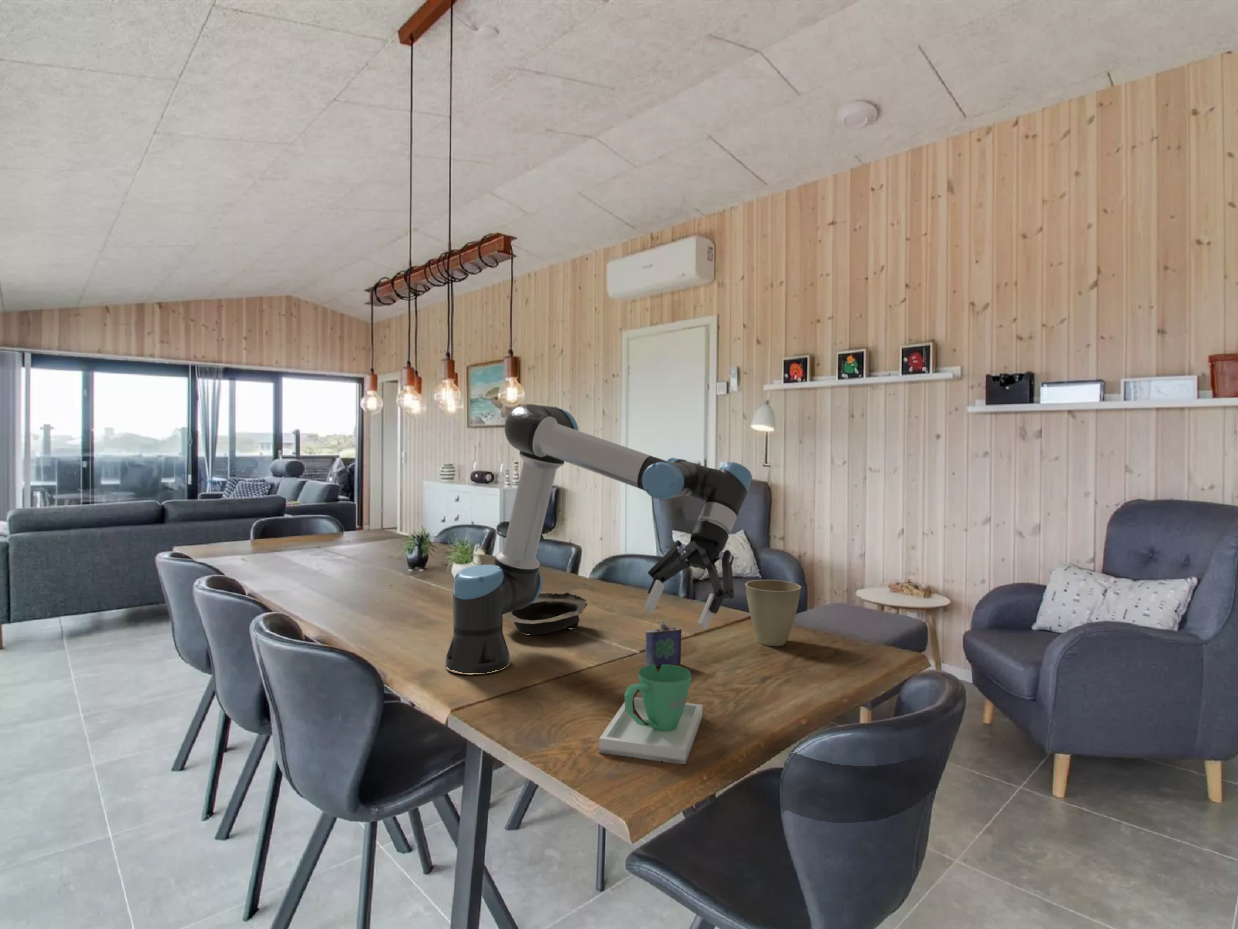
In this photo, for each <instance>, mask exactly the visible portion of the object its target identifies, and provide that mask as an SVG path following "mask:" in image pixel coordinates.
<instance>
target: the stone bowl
mask: <svg viewBox="0 0 1238 929" xmlns="http://www.w3.org/2000/svg"><path fill="white" fill-rule="evenodd" d="M588 605H589V604H588V603H587V599H585V598H583V597H581V596H579V595H577V594H571V593H569V592H565V593H557V592H556V593H549V592H546V593H544V592H543V593H541V592H540V594H539V596H538V597H537V599H536V600H535V601H534V602H532V603H531V604H529V605H528V606H526V607H524V608H522V609H517V610H514V611H511V612H509V613H506V614H503V617H504V618H505V619H507V621H510V622H513V624H514V626H515V627H516V629H517V630H519V631H520V632H522V633H525V634H530V635H531V636H533V635H534V636H535V635H544V634H547V633H552V632H554V631H555V632H556V631H561V630H563V629H567V628H576V629H577V628H578V627H579V626H578V625H579V623H580V616H579V615H581V614H583V612H584V610H585V608H586V607H587V606H588ZM519 631H518V632H519ZM520 632H519V633H520ZM522 633H521V634H522Z"/></svg>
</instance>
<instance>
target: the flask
mask: <svg viewBox="0 0 1238 929" xmlns="http://www.w3.org/2000/svg"><path fill="white" fill-rule="evenodd" d="M658 624H660V626H659V628H654V629H648V630H645V659H644V665H645V666H649V665H655V666H656V667H661V665H662V664H669V665H676V666H679V665H680V666H681V664H682V663H681V661H682V654H681V653H682V629H681V628H679V627H678V626H677V627H676V626H674V625H673V626H667V625H666V622H665V621H664V620H663V621H660V622H659V623H658ZM645 666H644V667H645Z"/></svg>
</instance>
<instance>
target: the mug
mask: <svg viewBox="0 0 1238 929" xmlns="http://www.w3.org/2000/svg"><path fill="white" fill-rule="evenodd" d="M657 669H658V668H656V666H655V665H649V666H643V667H641V668H640V669H639V670H638V673H637V674H638V682H639V683H634V684H631V685H628V686H627V687H626V691H625V692H624V693H623V694H624V702H625V710H626V712H627V713H628V714H629V715H630V716H631V717H632V718H633V719H634V720H635V722H636V723H637V724H639V725H641V726H646V727H651V728H653V729H655V730H658V731H672V730H674V729H676V727H677V725H678V723H679V720H680V718H681V715H682V713H683V709H684V706H685V703H687V699H688V694H689V690H690V689H689V688H690V685H691V680H692V676H691V675H692V674H691V671H690V670H688V668H685V667H682V666H681V665H680V666H676V665H669V664H662V665H661V667H660V668H659V670H657ZM639 693H641V698H642V699H643V703H644V707H645V710H646V714H647V717H648V719H649V720H645V719H642V718H641V717H640V715H639V714H638V712H637V711H636V709H635V705H634V698H635V697H636V696H637V694H639Z"/></svg>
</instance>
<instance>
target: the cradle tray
mask: <svg viewBox="0 0 1238 929" xmlns="http://www.w3.org/2000/svg"><path fill="white" fill-rule="evenodd" d="M634 705H635V709H636V711H637V712H638V714H639V715H640V717H641V718H642V719H645V720H649V719H648V717H647V714H646V710H645V707H644V703H643V699H642V697H639V696H638V697H636V696H635V698H634ZM702 719H703V704H697V703H689V702H686V703H685V706H684V709H683V713H682V715H681V718H680V720H679V723H678V725H677V727H676V729H674V730H672V731H658V730H655V729H653V728H651V727H646V726H641V725H639V724H637V723H636V722H635V720H634V719H633V718H632V717H631V716H630V715H629V714H628V713H627V712H626V710H625V701H624V702H623V703H622V705H621V706H620V707H619V709H618V711H617V712H616V714H615V715H614V717H613V718H612V719H611V721H609V724H608V725H607V726H606V727H605V729H604V731H603V733H602V734H601V735H600V737H599V738H598V740H599V741H598V745H599V746H598V753H599V754H604V755H613V756H619V757H624V758H632V757H633V759H640V760H647V761H655V762H661V761H663V763H670V764H675V765H682V764H687V762H688V759H689V755H690V754H689V753H691V750H692V748H693V745H694V743H695V739H696V736H697V734H698V730H699V727H700V725H701V723H702V722H701V721H702ZM691 747H692V748H691ZM686 761H687V762H686Z"/></svg>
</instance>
